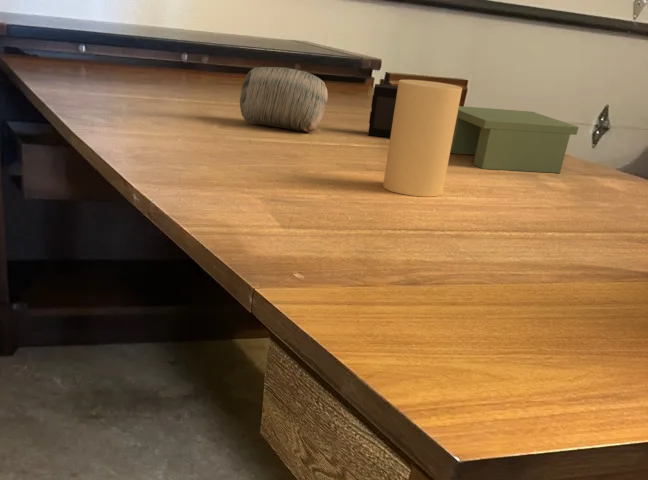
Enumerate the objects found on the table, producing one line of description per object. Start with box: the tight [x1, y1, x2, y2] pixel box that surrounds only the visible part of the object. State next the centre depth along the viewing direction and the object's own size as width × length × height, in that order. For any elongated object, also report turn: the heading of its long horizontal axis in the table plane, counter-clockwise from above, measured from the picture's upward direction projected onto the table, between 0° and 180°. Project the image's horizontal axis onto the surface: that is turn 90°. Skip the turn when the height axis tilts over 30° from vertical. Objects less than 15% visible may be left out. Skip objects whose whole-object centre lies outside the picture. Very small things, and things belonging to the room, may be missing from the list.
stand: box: [450, 105, 580, 174], centre depth 118 cm, size 14×14×6 cm
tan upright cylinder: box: [382, 79, 463, 198], centre depth 93 cm, size 7×7×11 cm
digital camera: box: [367, 83, 398, 139], centre depth 128 cm, size 10×5×7 cm, turn 83°
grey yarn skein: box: [239, 66, 329, 133], centre depth 125 cm, size 14×10×10 cm
